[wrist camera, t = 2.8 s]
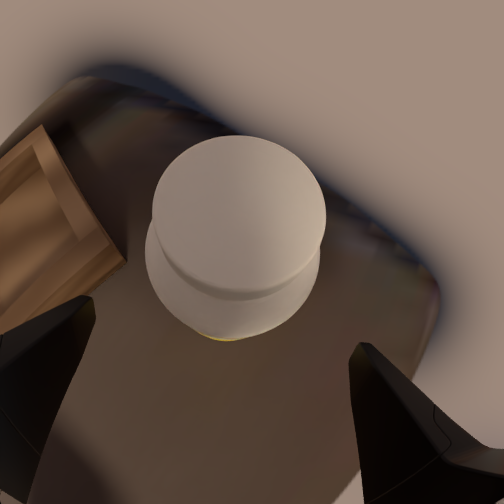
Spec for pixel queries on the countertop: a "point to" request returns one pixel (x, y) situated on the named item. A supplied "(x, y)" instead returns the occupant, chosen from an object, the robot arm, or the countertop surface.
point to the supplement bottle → (235, 236)
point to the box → (46, 234)
